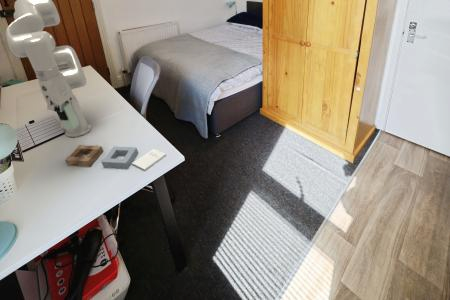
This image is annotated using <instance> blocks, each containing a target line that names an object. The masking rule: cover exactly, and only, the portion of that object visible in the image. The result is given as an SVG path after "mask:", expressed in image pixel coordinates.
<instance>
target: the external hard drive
mask: <svg viewBox="0 0 450 300" xmlns="http://www.w3.org/2000/svg"><path fill="white" fill-rule="evenodd" d="M166 156H167V154H166V153H165V152H163V151H161V150H158V149H155V148H152V149H150V150H149V151H148V152H146V153H145V154H143V155H142V156H140V157H139V158H137V159H136V160H133V162H132V163H131V165H132V166H134V167H135V168H137V169H140V170H141V171H144V172H147V171H148V170H149V169H150V168H152V167H153V166H155V163H156V164H157V163H158V162H160V161H161V160H162V159H163V157H164V158H165V157H166ZM159 160H160V161H159Z"/></svg>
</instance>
